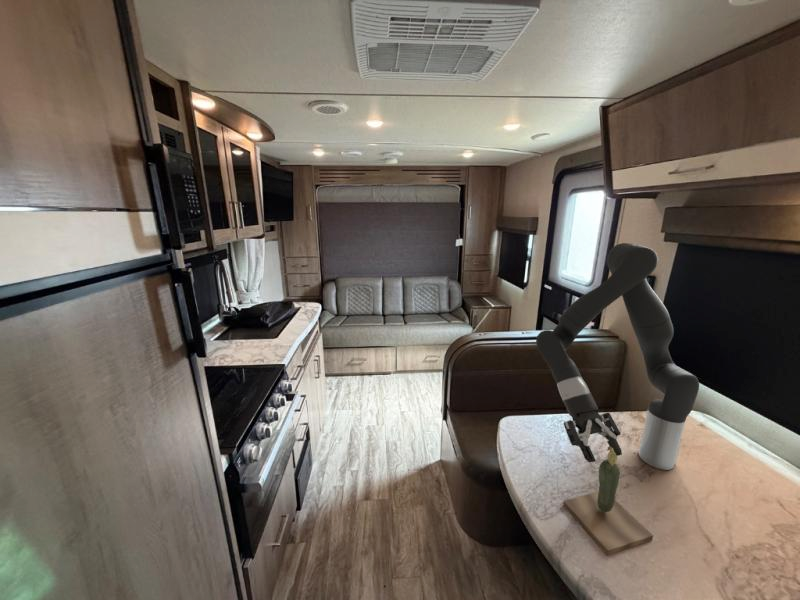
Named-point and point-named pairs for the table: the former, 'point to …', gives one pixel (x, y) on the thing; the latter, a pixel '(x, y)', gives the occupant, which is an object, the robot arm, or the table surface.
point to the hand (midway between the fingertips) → (605, 458)
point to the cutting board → (607, 524)
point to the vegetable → (608, 481)
